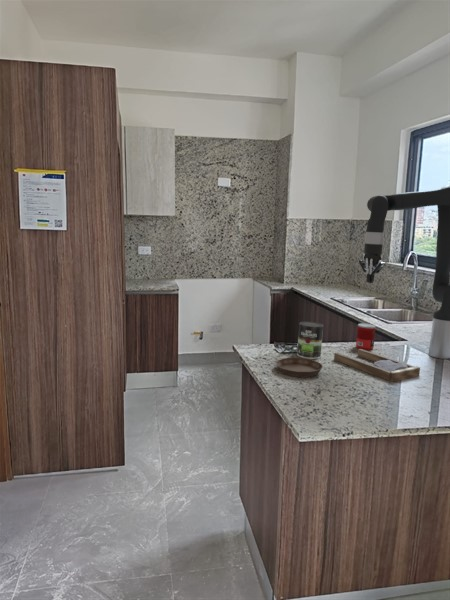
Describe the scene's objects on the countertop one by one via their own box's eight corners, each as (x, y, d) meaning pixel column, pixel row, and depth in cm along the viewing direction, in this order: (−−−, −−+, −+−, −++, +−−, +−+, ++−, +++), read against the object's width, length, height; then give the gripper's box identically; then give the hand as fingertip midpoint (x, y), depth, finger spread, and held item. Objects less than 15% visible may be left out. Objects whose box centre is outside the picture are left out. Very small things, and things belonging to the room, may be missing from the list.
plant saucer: (270, 374, 171) (270, 366, 171) (281, 362, 188) (282, 355, 187) (317, 382, 165) (318, 374, 165) (325, 368, 182) (325, 361, 181)
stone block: (393, 383, 173) (410, 374, 178) (392, 371, 172) (410, 363, 177) (369, 374, 183) (386, 366, 188) (368, 363, 182) (385, 356, 187)
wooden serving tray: (360, 355, 202) (360, 347, 201) (419, 375, 177) (420, 367, 177) (334, 359, 193) (334, 352, 193) (392, 381, 169) (393, 372, 168)
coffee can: (318, 360, 191) (321, 327, 189) (294, 357, 195) (296, 324, 192) (322, 354, 200) (325, 323, 198) (299, 351, 204) (302, 320, 202)
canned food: (374, 351, 210) (376, 327, 208) (356, 349, 212) (358, 326, 210) (372, 346, 218) (374, 324, 216) (355, 345, 219) (357, 322, 217)
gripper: (392, 244, 194) (387, 284, 197) (367, 242, 205) (363, 280, 208) (380, 243, 190) (376, 285, 193) (356, 241, 201) (352, 281, 204)
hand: (369, 282), depth 200 cm, fingers closed
